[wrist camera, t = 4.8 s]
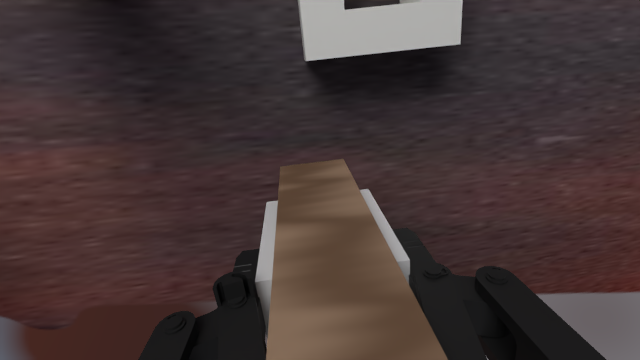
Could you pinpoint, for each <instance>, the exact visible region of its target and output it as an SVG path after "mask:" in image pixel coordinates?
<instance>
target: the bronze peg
mask: <svg viewBox="0 0 640 360" xmlns="http://www.w3.org/2000/svg"><path fill="white" fill-rule="evenodd" d="M266 360H448V359H447V357H446V355H445V353H444V351H443V349H442V347H441V345H440V343H439V342H438V340H437V338H436V336H435V334H434V332H433V330H432V328H431V326H430V324H429V322H428V320H427V319H426V317H425V315H424V313H423V311H422V309H421V307H420V305H419V303H418V301H417V299H416V297H415V296H414V294H413V292H412V290H411V288H410V286H409V284H408V282H407V280H406V278H405V276H404V274H403V273H402V271H401V269H400V267H399V265H398V263H397V261H396V259H395V257H394V255H393V253H392V251H391V250H390V248H389V246H388V244H387V242H386V240H385V238H384V236H383V234H382V232H381V230H380V228H379V227H378V225H377V223H376V221H375V219H374V217H373V215H372V213H371V211H370V209H369V207H368V205H367V204H366V202H365V200H364V198H363V196H362V194H361V192H360V190H359V188H358V186H357V184H356V182H355V181H354V179H353V177H352V175H351V173H350V171H349V169H348V167H347V165H346V163H345V161H344V159H338V160H330V161H322V162H314V163H306V164H298V165H290V166H282V167H280V179H279V192H278V206H277V219H276V233H275V246H274V259H273V273H272V286H271V300H270V313H269V327H268V340H267V354H266Z"/></svg>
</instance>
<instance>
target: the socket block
mask: <svg viewBox="0 0 640 360" xmlns="http://www.w3.org/2000/svg"><path fill="white" fill-rule="evenodd" d="M462 2H463V0H400V4H396V5H386V6H377V7H367V8H358V9H348V10H345V9H344V0H298V6H299V15H300V24H301V33H302V42H303V51H304V60H305V61H312V60H321V59H330V58H339V57H348V56H357V55H366V54H376V53H385V52H394V51H403V50H412V49H421V48H430V47H439V46H448V45H457V44H460V41H461V22H462Z"/></svg>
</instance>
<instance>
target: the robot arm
mask: <svg viewBox="0 0 640 360" xmlns="http://www.w3.org/2000/svg"><path fill="white" fill-rule="evenodd" d="M360 192H361V194H362V196H363V198H364V200H365V202H366V204H367V205H368V207H369V209H370V211H371V213H372V215H373V217H374V219H375V221H376V223H377V225H378V227H379V228H380V230H381V232H382V234H383V236H384V238H385V240H386V242H387V244H388V246H389V248H390V250H391V251H392V253H393V255H394V257H395V259H396V261H397V263H398V265H399V267H400V269H401V271H402V273H403V274H404V276H405V278H406V280H407V282H408V284H409V286H410V288H411V290H412V292H413V294H414V296H415V297H416V299H417V301H418V303H419V305H420V307H421V309H422V311H423V313H424V315H425V317H426V319H427V320H428V322H429V324H430V326H431V328H432V330H433V332H434V334H435V336H436V338H437V340H438V342H439V343H440V345H441V347H442V349H443V351H444V353H445V355H446V357H447V359H448V360H487V358H488V359H489V360H606V359H605V358H604V357H603V356H602V355H601V354H600V353H598V352H597V351H596V350H595V349H594V348H593V347H592V346H591V345H590V344H589V343H588V342H586V340H584V339H583V338H582V337H581V336H580V335H579V334H578V333H577V332H576V331H575V330H573V328H571V327H570V326H569V325H568V324H567V323H566V322H565V321H564V320H563V319H562V318H561V317H559V316H558V315H557V314H556V313H555V312H554V311H553V310H552V309H551V308H550V307H548V306H547V305H546V304H545V303H544V302H543V301H542V300H541V299H540V298H539V297H538V296H537V295H536V294H534V293H533V292H532V291H531V290H530V289H529V288H528V287H527V286H526V285H525V284H524V283H523V282H521V281H520V280H519V279H518V278H517V277H516V276H515V275H514V274H512V273H511V272H509V271H508V270H505V269H503V268H500V267H495V266H485V267H482V268H479V269H478V270H477V271H476V277H469V276H459V275H454V274H452V273H451V271H450V270H449V269H448V268H447V267H445V266H444V265H441V264H438V263H436V262H435V260H434V259H433V258H432V256H431V255H430V253H429V252H428V251H427V249H426V248H425V246H423V243H422V242H421V241H420V239H419V238H418V236H417V235H416V234H415V233H414V232H413V231H411V230H409V229H408V228H402V229H394V230H392V229H391V227H390V225H389V224H388V222H387V220H386V218H385V217H384V215H383V213H382V212H381V210H380V208H379V207H378V205H377V203H376V201H375V200H374V198H373V196H372V195H371V193H370V191H369V190H368V189H363V190H360ZM277 206H278V201H271V202H267V204H266V211H265V217H264V224H263V231H262V238H261V244H260V249H254V250H247V251H242V252H241V254H240V255H239V256H238V257H237V258H236V262H235V267H234V270H233V272H230V273H228V274H225V275H223V276H222V277H220V278H219V279H218V280H217V281H216V282H215V283H214V286H213V291H214V295H215V299H216V302H217V305H218V308H217V309H216V310H214V311H212V312H210V313H208V314H205V315H203V316H200V317H197V318H195V317H194V315H193V313H191V312H189V311H180V312H176V313H173V314H171V315H169V316H167V317H166V318H164V319H163V320H162V321H160V322H159V324H158V325H157V326H156V328H155V329H154V331H153V333H152V335H151V337H150V339H149V341H148V342H147V344H146V346H145V348H144V350H143V352H142V354H141V356H140V358H139V359H138V360H266V354H267V348H266V344H265V333H266V335H267V340H268V327H269V313H270V300H271V286H272V273H273V259H274V246H275V233H276V219H277ZM485 355H486V356H487V358H486V356H485Z"/></svg>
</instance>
